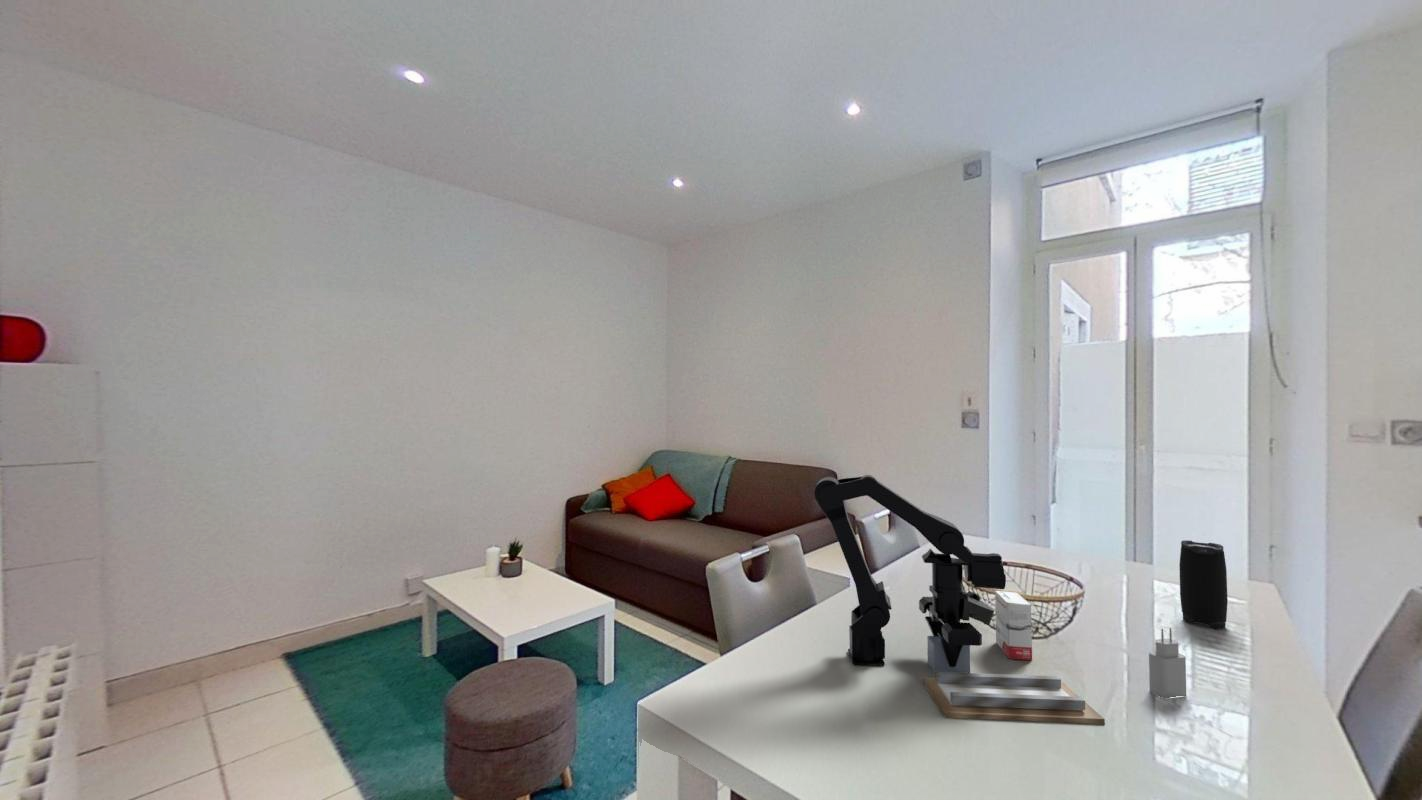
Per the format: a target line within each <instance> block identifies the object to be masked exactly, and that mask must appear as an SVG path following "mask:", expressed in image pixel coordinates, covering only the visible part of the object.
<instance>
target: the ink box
mask: <svg viewBox="0 0 1422 800" xmlns="http://www.w3.org/2000/svg"><path fill="white" fill-rule="evenodd" d="M994 602H995V604H994V606H995V609H994V613H995V643H996V644H997V645H998V646H999V648H1000V649H1001V650H1002V652H1003V653H1004V655H1006V657H1007V658H1008V659H1012V660H1024V661H1025V660H1026V661H1033V646H1032V645H1033V643H1032V642H1033V640H1032V632H1033V631H1032V605H1031V603H1029V602H1028V601H1027V600H1026V599H1025V598H1024V597H1022V596H1021V595H1020V594H1019V593H1018V592H1013V591H1012V592H1011V591H1002V590H995V591H994Z"/></svg>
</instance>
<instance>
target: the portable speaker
mask: <svg viewBox="0 0 1422 800" xmlns="http://www.w3.org/2000/svg"><path fill="white" fill-rule="evenodd" d="M1180 544H1181V545H1180V554H1179V566H1178V567H1179V596H1180V597H1179V598H1180V606H1181V612H1182V620H1183V621H1184V622H1185V623H1188V624H1189V625H1193V624H1195V623H1198V624H1201V625H1206V626H1209V628H1210V629H1212V630H1223V629H1225V628H1226V623H1227V614H1228V599H1229V598H1228V579H1227V578H1228V577H1227V576H1228V575H1227V573H1228V571H1227V563H1226V557H1225V551H1224V546H1223V545H1221V544H1219V543H1215V542H1208V543H1207V542H1206V543H1205V542H1198V541H1197V542H1196V541H1192V540H1189V539H1188V540H1181V541H1180Z"/></svg>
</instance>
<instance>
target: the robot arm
mask: <svg viewBox="0 0 1422 800" xmlns="http://www.w3.org/2000/svg"><path fill="white" fill-rule="evenodd" d="M813 494H814V498H815V501H816V502H817V504H818V505H819V508H820V509H821V511H822V513H823V514H824V515H825V517H826V518H827V519H828V520H829V522H830V524H831V526H832V528H833V530H834V533H835V536H836V539H837V542H838V544H839V546H840V549H841V552H842V554H843V557H844V559H845V561H846V564H847V566H848V569H849V572H850V574H851V577H852V580H853V582H854V584H855V588H856V594H857V595H856V596H857V600H858V605H857V606H855V608H854V609H853V610H851V616H850V617H851V622H850V625H848V626H849V627H848V628H849V630H848V631H849V634H848V635H849V648H848V649H847V652H848V655H849V657H850V660H851V662H852V664H853V665H859V666H885V664H886V663H885V661H884V660H885V658H886V641H885V638H884V636H883V631H882V628H884V627H886V626H887V625H888V624H889V622H890V619H891V614H890V610H892V605H891V598H890V597H889V595H888V594H887V593H886V592H887V591H886V589H885V585H884V581H880V582H878V583H877V582H876V581H875V579H874V578H873V576H872V574H871V570H870V569H869V567H868V563H867V561H866V559H865V557H864V553H863V551H862V548H861V546H860V544H859V543H860V542H859V541H858V539H857V535H856V534H855V532H854V529H853V526H852V524H851V520H850V518H849V516H848V510H847V506H846V505H847V503H846V501H849V500H852V499H857V498H860V497H866V496H867V497H869V498H870V499H872V500H874V501H875V502H877V503H878V504H879V505H881V506H882V507H884V508H885V509H887V510H888V511H890V513H893V514H894V515H895V516H897V517H899V518H900V519H902V520H903V521H905V522H906V523H908V524H909V525H911V526H912V527H914V529H916V530H917V531H918V532H919V533H920V534H921V535H922V536H923V538H925V539H926V540H927V541H928V542H929V543H930V544H931V545H932V546H933V547H934V548H936V550H937V551H939V552H940V553H938V552H934V551H933V550H932V548H929V549H928V551H926V552H925V553H923V554H922V555H921V558H922V561H923V562H924V563H925V564H931V570H932V571H931V573H932V575H931V578H932V579H931V580H932V581H931V582H932V584H931V585H928V586H929V588H928V589H929V592H931V594H932V596H922V597H921V598H920V599H919V600H918V610H919V611H920V612H921V613H922V614H926V613H927V611H928V616H927V615H926V616H925V617H924V620H925V621H926V622H927V624H928V625H927V626H928V628H929V630H930V632H931V634H932V636H939V639H940V641H941V644H942V647H943V650H944V653H945V655H946V658H947V661H948V663H949V666H950V667H955V666H956V664H957V661H958V658H959V655H960V652H961V649H962V647H963V645H970V646H973V647H974V646H976V647H977V646H978V647H980V646H982V645H983V638H982V636H983V635H982V633H981V632H980V631H979V630H978V629H977V628H976V627H975V626H974V625H973V624H971V623H970V619H973V620H975V621H979V622H981V623H983V624H984V625H986V626H990V624H991V621H992V619H993V616H994V613H995V609H993V608H992V607H991V606H989V604H987V603H985V602H983V601H982V600H980V596H979V594H977V593H976V592H973V591H971V590H969V591H968V592H965V591H964V587H963V586H964V585H963V583H964V582H963V581H964V580H963V579H965V581H966V582H970V584H971V587H973V588H979V589H980V588H981V589H992V590H1005V589H1006V585H1007V581H1006V580H1007V577H1006V573H1005V569H1004V564H1003V562H1002V561H1003V560H1002V559H1003V558H1002V556H1001V555H1000V554H999V553H993V552H992V553H980V552H979V553H977V552H972V550H971V549H970V548H969V547H968V546H965V538H964V535H963V533H962V532H961V531H960V529H959V528H958V527H957V526H956V525H955V524H954V523H952V522H951V521H948V520H946V519H943V518H942V517H939V516H937V515H934V514H932V513H930V512H926V511H925V510H922V509H921V508H919V507H918V506H916V505H915V504H914V503H912V502H911V501H910V500H907V499H906V498H905V497H903V496H901V495H900V494H899V493H897V492H896V491H894V490H892V488H889V487H887V486H886V485H885V484H884V483H882V482H880V481H879V480H878V479H876V477H874V476H873V475H870V474H865V475H862V476H856V477H846V478H839V479H837V478H835V477H832V476H827V477H826V476H825V477H823V478H821V479H820V480H819V481H818V482H817V484H816V486H815V488H814V493H813ZM951 555H952V556H955V557H951ZM963 568H964V569H963ZM963 571H964V573H963ZM963 574H964V578H963ZM961 620H962V621H965V622H961ZM966 621H969V622H966Z"/></svg>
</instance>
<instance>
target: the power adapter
mask: <svg viewBox="0 0 1422 800" xmlns="http://www.w3.org/2000/svg"><path fill="white" fill-rule="evenodd" d="M1160 630H1161V634H1160V636H1161V638H1160V639H1159V638H1158V639H1155V640H1154V641H1155V642H1154V643H1155V646H1154V648H1155V650H1154V651H1148V671H1149V672H1148V674H1149V675H1148V677H1149V679H1148V680H1149V692H1150V691H1151V692H1152V694H1153V693H1154V694H1153V695H1155V694H1156V695H1155V696H1157V695H1158V696H1157V697H1159V696H1160V697H1159V698H1161V697H1163V698H1162V699H1164V698H1170V697H1176V696H1186V697H1187V668H1186V666H1187V664H1186V663H1187V662H1186V656H1185V655H1184V654H1181V653H1179V641H1178V640H1177V639H1173V637H1172V634H1173V633H1172V627H1169V638H1165V636H1164V634H1165V633H1164V629H1163V628H1161V629H1160ZM1151 692H1150V693H1151Z"/></svg>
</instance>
